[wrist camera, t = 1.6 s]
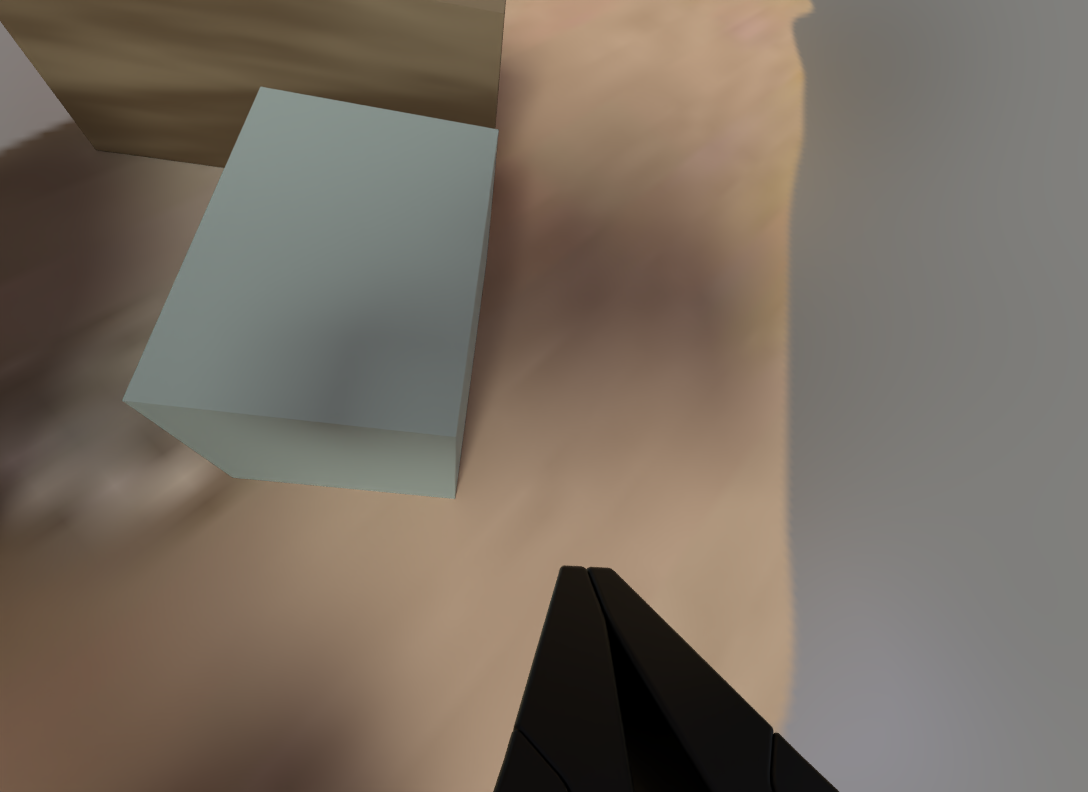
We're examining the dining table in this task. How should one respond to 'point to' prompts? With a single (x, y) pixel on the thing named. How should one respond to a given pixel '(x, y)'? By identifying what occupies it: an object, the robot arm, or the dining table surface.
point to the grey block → (330, 300)
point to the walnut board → (253, 63)
